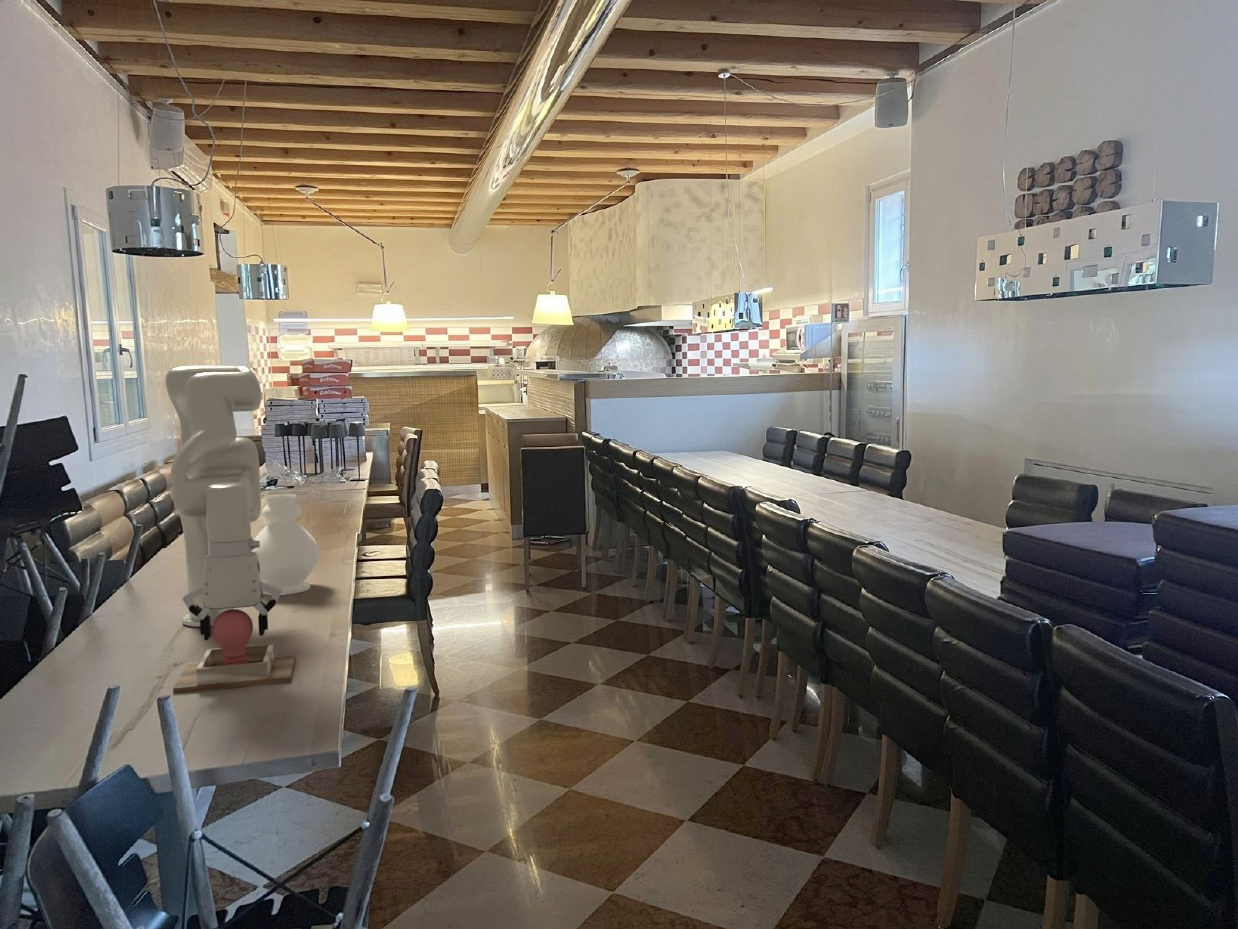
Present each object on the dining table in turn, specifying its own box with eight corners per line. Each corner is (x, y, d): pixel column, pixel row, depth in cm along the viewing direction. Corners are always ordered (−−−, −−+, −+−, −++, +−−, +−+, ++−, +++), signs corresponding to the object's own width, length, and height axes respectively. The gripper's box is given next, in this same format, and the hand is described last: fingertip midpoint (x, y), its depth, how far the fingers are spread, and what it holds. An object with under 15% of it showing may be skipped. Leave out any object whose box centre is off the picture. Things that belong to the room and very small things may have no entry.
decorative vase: (319, 578, 246) (315, 489, 243) (322, 594, 229) (318, 498, 226) (250, 584, 239) (245, 493, 236) (248, 601, 223) (243, 503, 220)
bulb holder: (187, 669, 173) (186, 650, 172) (295, 660, 178) (294, 640, 178) (173, 693, 160) (171, 672, 160) (290, 682, 166) (289, 661, 165)
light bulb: (208, 671, 169) (205, 610, 168) (246, 662, 174) (243, 602, 173) (223, 680, 164) (219, 617, 163) (261, 670, 169) (258, 609, 168)
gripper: (281, 541, 172) (285, 626, 175) (184, 546, 168) (189, 633, 170) (277, 549, 165) (281, 638, 167) (175, 555, 161) (181, 646, 163)
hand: (235, 635), depth 169 cm, fingers open, 9 cm apart
